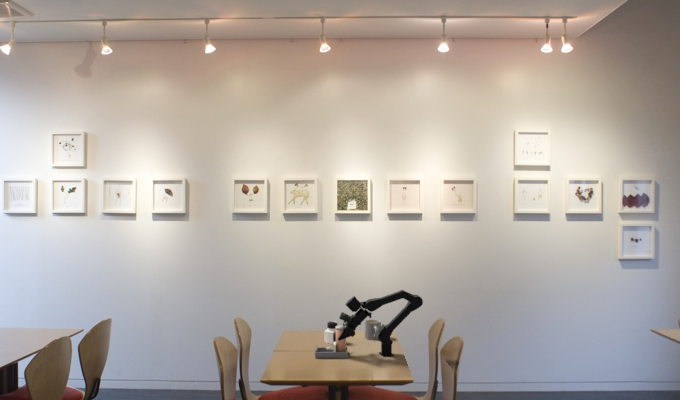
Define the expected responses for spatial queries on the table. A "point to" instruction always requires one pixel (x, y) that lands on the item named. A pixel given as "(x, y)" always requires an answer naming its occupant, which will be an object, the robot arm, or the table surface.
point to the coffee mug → (372, 329)
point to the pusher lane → (329, 353)
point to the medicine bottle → (330, 332)
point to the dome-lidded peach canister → (342, 343)
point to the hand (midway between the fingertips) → (338, 338)
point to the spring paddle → (332, 347)
